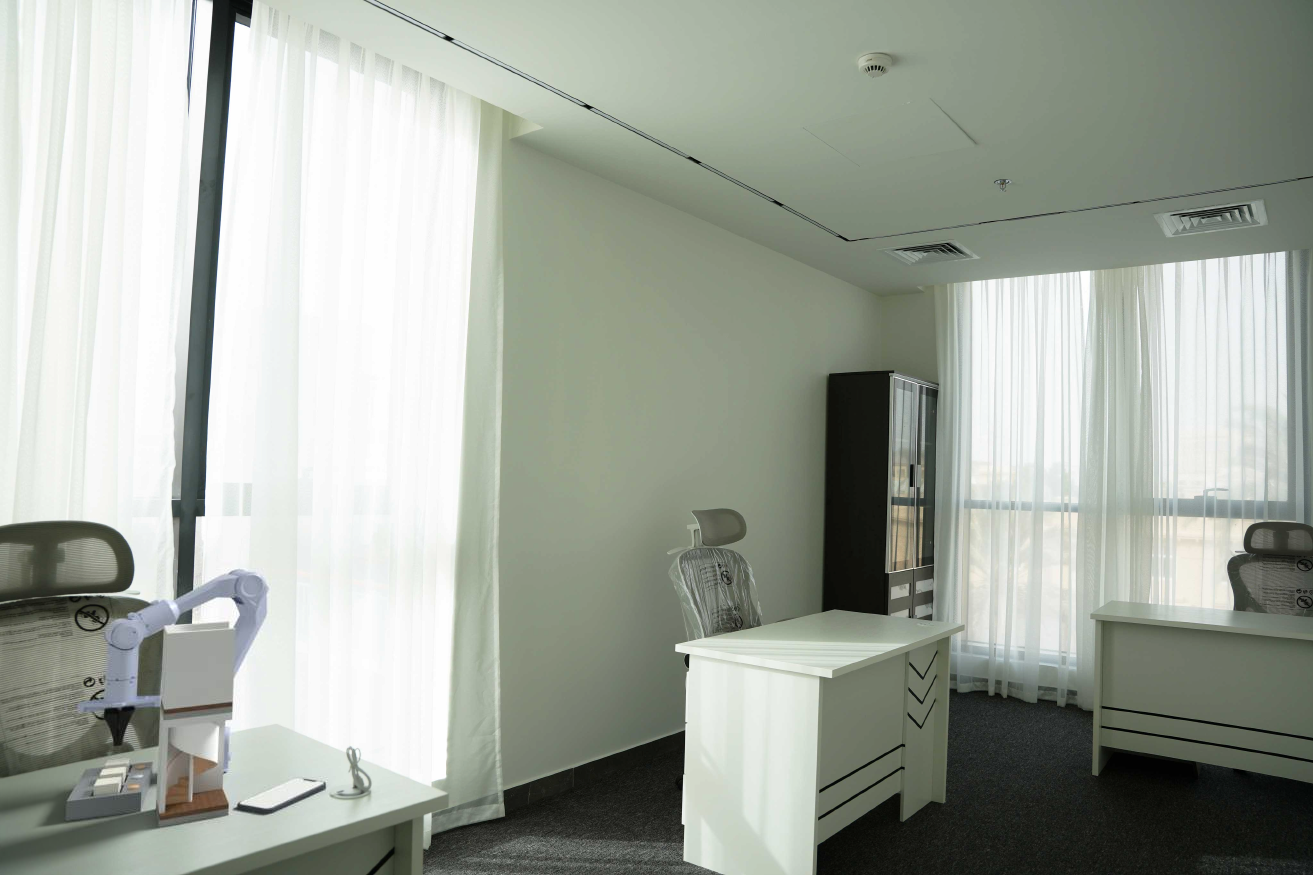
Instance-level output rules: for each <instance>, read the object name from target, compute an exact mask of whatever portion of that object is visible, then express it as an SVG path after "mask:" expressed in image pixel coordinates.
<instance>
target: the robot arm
mask: <svg viewBox="0 0 1313 875" xmlns="http://www.w3.org/2000/svg"><path fill="white" fill-rule="evenodd" d="M269 589H270V588H269V585H268V584H267V582H266V580H265V577H264V575H262V574H261V573H259V572H256V571H247V570H244V569H240V568H239V569H233V570H230V571H229V572H228V573H224V574H220V575H219V576H217V577H215V578H213V579H211V580H209V581H207V582H206V583H204V584H202V585H200V586H198V587H196V588H195V589H193V590H191V591H188V592H187V593H185V594H183V595H181V596H180V597H178V598H176V599H175V600H169V599H160V600H159V599H155V600H152V601H151V602H150V604H151V605H149V606H146V607H144V608H143V609H141V610H138V611H137V612H129V613H127V615H126V616H127V618H118V619H115V620H113V621H112V622H110V623H109V624H108V626H107V627H106V629H105V632H104V633H103V639H104V641H105V642H106V643H107V650H106V652H107V653H106V657H105V658H106V659H105V660H106V661H105V677H104V678H105V680H104V695H103V696H104V698H102V699H100V698H99V699H94V700H92V699H91V700H87V701H79V703H77V714H85V713H90V712H101V711H103V716H102V717H103V718H104V721H105V722H106V724H107V726H108V728H109V730H110V733H111V738H112V743H113V747H119V746H120V747H121V746H122V745H123V744H124V738H125V734H126V731H127V728H128V726H129V723H130V721H131V718H133V715H134V712H135V711H136V709H138V708H150V707H151V708H152V707H154V708H158V707H159V708H160V704H161V694H158V695H138V676H139V672H138V671H139V656H140V655H139V645H140V644H141V643H142V642H143V640H144V638H148V637H151V636H152V635H154V634H156V633H158V632H160V631H162V630H164V626H167V625H175V623H177V621H179V620H178V619H179V618H180V615H182V614H184V613H185V612H188V611H191V610H193V609H194V608H197V607H199V606H202V605H203V604H205V603H208V602H210V601H212V600H215V599H216V598H221V599H222V598H225V599H226V598H227V599H232V601H233V602H234V603H235V606H236V608H237V611H238V613H239V615H238V618H237V620H236V622H235V623H234V625H233V626H232V628H236V634H235V659H234V678H235V677H236V675H237V673H238V672H239V669H240V667H241V666H242V664H243V662H244V660H245V658H246V657H247V655H248V652H249V650H250V648H251V646H252V645H253V643H254V640H255V638H256V636H257V635H258V633H259V631H260V630H261V627H262V626H263V624H264V621H265V619H266V618H267V614H268V593H269ZM230 736H231V726H225V743H224V768H223V773H227V772H228V771H229V763H230V761H231V756H232V755H231V754H232V752H230V741H231V740H230V739H231V738H230Z"/></svg>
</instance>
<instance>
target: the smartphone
mask: <svg viewBox="0 0 1313 875" xmlns="http://www.w3.org/2000/svg"><path fill="white" fill-rule="evenodd" d="M326 788H327V782H325V781H322V780H316V779H310V778H305V777H295V778H292V779H290V780H288V781H285V782H282V783H280V784H278V785H275V786H274V787H272V788H271V787H270V788H269V789H266V790H264V791H262V792H260V793H257V794H255V795H253V796H251V797H248V798H246V799H244V800H241V801H239V802H238V803H237V804H236V807H237V808H236V809H237V810H239V811H244V812H250V813H255V814H259V815H272V814H274V813H276V812H278V811H282V810H283V809H285V808H288V807H290V806H292V805H294V804H297V803H298V802H301V801H303V800H305V799H307V798H310V797H312V796H314V795H316V794H318V793H321V792H323V791H325V790H326Z"/></svg>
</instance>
